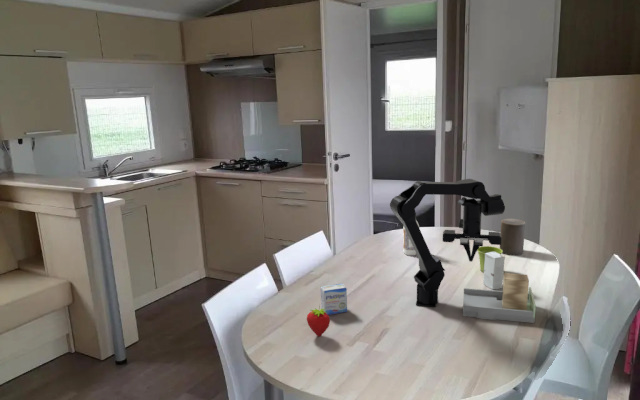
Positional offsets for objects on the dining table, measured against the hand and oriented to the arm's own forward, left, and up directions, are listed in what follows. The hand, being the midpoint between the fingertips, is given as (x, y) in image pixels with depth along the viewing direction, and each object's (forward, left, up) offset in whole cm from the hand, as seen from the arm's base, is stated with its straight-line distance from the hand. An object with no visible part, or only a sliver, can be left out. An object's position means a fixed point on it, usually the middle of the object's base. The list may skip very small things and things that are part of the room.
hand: (470, 261), depth 164 cm
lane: (+8, -9, -13) cm, 18 cm away
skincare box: (+8, +11, -13) cm, 19 cm away
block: (+14, -9, -11) cm, 20 cm away
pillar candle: (+17, +51, -13) cm, 55 cm away
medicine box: (-43, -21, -13) cm, 50 cm away
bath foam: (-25, +41, -13) cm, 50 cm away
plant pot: (+7, +26, -13) cm, 30 cm away
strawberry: (-43, -38, -13) cm, 59 cm away
